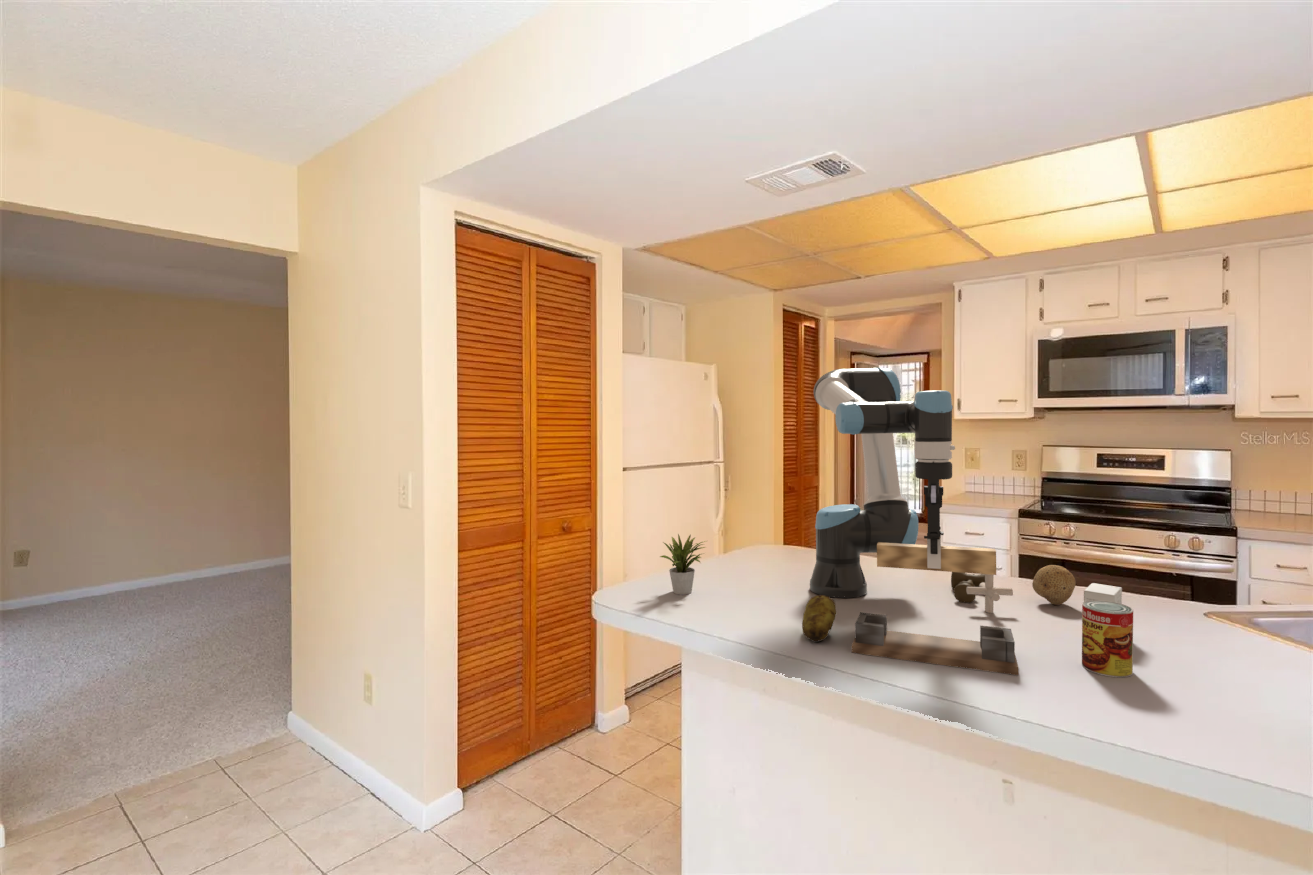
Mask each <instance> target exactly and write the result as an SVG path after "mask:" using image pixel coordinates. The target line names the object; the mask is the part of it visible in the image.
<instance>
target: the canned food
mask: <svg viewBox="0 0 1313 875" xmlns="http://www.w3.org/2000/svg"><path fill="white" fill-rule="evenodd" d="M1081 604H1082V605H1081V606H1082V607H1081V609H1082V610H1081V611H1082V612H1081V622H1082V623H1081V666H1082V667H1083V668H1084V669H1086V670H1087V671H1089V672H1092V673H1094V674H1097V675H1100V676H1104V677H1111V678H1112V677H1113V678H1128V677H1130V676H1133V674H1134V673H1133V672H1134V671H1133V667H1134V662H1133V661H1134V609H1133V608H1132V606H1129V605H1126V604H1123V603H1122V604H1120V603H1115V602H1110V601H1101V600H1090V601H1085V602H1084V601H1083V602H1082V603H1081Z"/></svg>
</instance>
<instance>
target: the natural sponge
mask: <svg viewBox="0 0 1313 875" xmlns="http://www.w3.org/2000/svg"><path fill="white" fill-rule="evenodd" d="M1031 583H1032V584H1031V585H1032V588H1033V591H1034V592H1035V593H1036V594H1037V595H1039V596H1040V597H1041V598H1044V599H1045V600H1046V601H1048V603H1051V605H1055V606H1060V605H1062V604H1064V603H1066V602H1067V601H1068V600H1069V599H1070V598H1071V597H1072V595H1073V592H1074V590H1075V588H1076V578H1075V576H1074V575H1073V573H1072V572H1071V571H1070V570H1069V569H1067V568H1065V567H1064V566H1061V565H1056V564H1049V565H1046V566H1043V567H1041V568H1039V569H1038V570H1037V572H1036V573H1035V575H1034V577H1033V580H1032V582H1031Z"/></svg>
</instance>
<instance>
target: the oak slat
mask: <svg viewBox="0 0 1313 875" xmlns="http://www.w3.org/2000/svg"><path fill="white" fill-rule="evenodd" d="M876 566H877V568H879V567H880V568H893V569H903V570H905V569H906V570H907V569H908V570H921V571H935V572H946V573H947V572H948V573H949V572H951V573H952V572H961V573H967V574H975V575H979V574H989V575H993V576H994V575H995V576H997V550H996V548H990V547H989V548H987V547H970V546H969V547H967V546H955V545H953V546H951V545H949V546H948V545H941V569H934V568H927V544H916V543H915V544H899V543H881V542H878V543H877V553H876Z"/></svg>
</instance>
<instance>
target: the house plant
mask: <svg viewBox="0 0 1313 875" xmlns="http://www.w3.org/2000/svg"><path fill="white" fill-rule="evenodd" d="M677 538H678V540H677V541H678V542H677V541H676V538H674V537H673V536H671V542H672V544H671V543H669V544H667V543H666V542H664V541H662V543H663V544H664V545H665V546H666V548H667V549H668V550H669V551H670V553H671V555H672V556H671V557H670V556H667V555H665V554H664V555H660V556H659V558H664V559H667V560H669V561H670V562H671V563H672V564H671V565H672V567H671V568H669V570H668V571H669V576H670V582H671V586H672V592H673V594H676V595H679V596H680V595H682V596H683V595H690V594H691V593H692V591H693V584H694V579H695V572H696V571H695V568H693V567H691V566H690V565H692V564H693V563H694V562H695V561H696V562H699V563H701V561H700V559H702V556H700V555H702V553H699V554H693V553H694V552H696V551H697V550H701V549H705V548H706V546H703V545H705V544H704V543H706V542H707V540H704V541H701V542H698V543H697V542H696V543H695V544H694V540H695V539H696V537H693V538H691V534H689V535H688V537H687V538H686V541H685V542H684V545H683V543H682V540H681V536H680V535H679V533H677ZM702 543H703V544H702ZM701 546H703V547H701ZM705 553H706V552H705ZM705 553H703V555H704V554H705ZM705 555H706V554H705ZM694 556H695V557H694ZM674 566H675V567H674Z"/></svg>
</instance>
